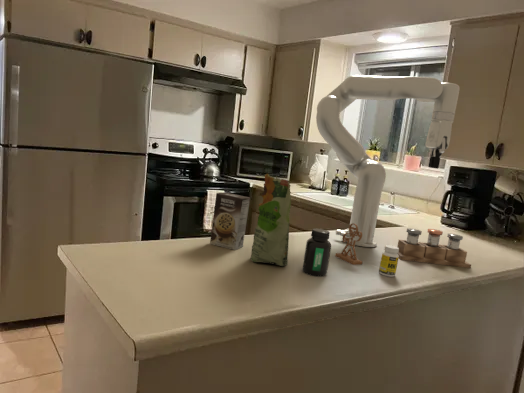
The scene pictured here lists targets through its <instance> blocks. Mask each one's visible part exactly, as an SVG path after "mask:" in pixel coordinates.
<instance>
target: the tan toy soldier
mask: <svg viewBox="0 0 524 393" xmlns="http://www.w3.org/2000/svg"><path fill="white" fill-rule="evenodd" d="M353 224H354V225H355V226H356V228H354V227H351V226H352V225H353ZM348 228H349V232H350V233H349V234H350V237H352V238H346V237H345V235H346V234H348V233H345V234H344V235H343V236H342V239H341V240H342V242H343V243H346V245H345V247H344V248H343V249H342V251H341V252H337V253H335V255H334V256H335V257H336V258H338V259H339V260H340V259H341V261H344V262H347V264H348V263H349V264H350V265H353V266H357V265H362V264H363V261H362V260H361V259H358V257H357V253H356V248H355V246H356V245H355V241H356V240H354V241H353V238H355V236H358V237H360V238H359V239H358V240H357V241H360V240H361V238H362V232H358V226H357V225H356V224H355V223H352V224H350V223H349V227H348ZM351 229H353V230H356V231H354V232H353V231H352V230H351ZM359 233H360V234H359ZM356 234H357V235H356ZM344 239H345V240H346V241H345V240H344ZM350 239H351V241H350V243H351V244H350V243H349V240H350ZM352 241H353V242H352ZM352 243H353V244H352ZM348 246H349V248H348ZM351 247H352V248H351ZM347 248H348V250H347ZM346 250H347V251H346ZM352 250H353V251H352Z"/></svg>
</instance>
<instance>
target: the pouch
mask: <svg viewBox="0 0 524 393" xmlns="http://www.w3.org/2000/svg"><path fill="white" fill-rule="evenodd" d="M261 197H262V202H260V203H259V204H258V208H257V210H258V212H259V213H258V214H259V215H258V216H257V224H256V227H255V229H254V233H253V243H252V246H251V255H250V260H251V261H252V262H253V263H265V264H270V265H277V266H280V267H285V266H287V265H288V260H289V259H288V256H289V255H288V254H289V242H290V241H289V240H290V239H289V238H290V237H289V236H290V213H291V207H292V206H291V205H292V199H291V183H290V181H289V180H286V179H284V178H283V179H282V178H278V176H277V175H276V176H275V177H274V176H271V175H270V174H269V173H266V174H265V175H264V184H263V192H262V193H261Z"/></svg>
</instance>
